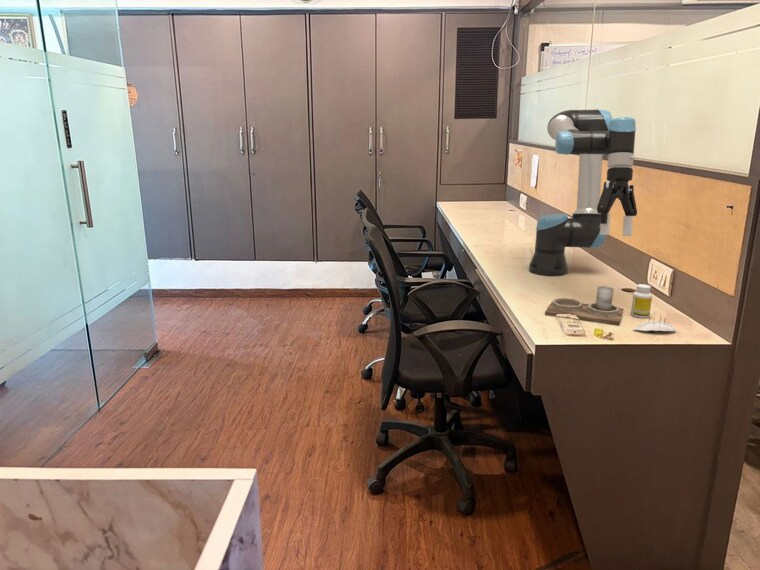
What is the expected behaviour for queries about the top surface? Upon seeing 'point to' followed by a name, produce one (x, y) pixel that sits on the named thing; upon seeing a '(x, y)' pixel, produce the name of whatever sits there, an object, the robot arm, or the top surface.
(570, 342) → the top surface
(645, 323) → the pincushion
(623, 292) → the top surface
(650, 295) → the supplement bottle
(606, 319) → the board
